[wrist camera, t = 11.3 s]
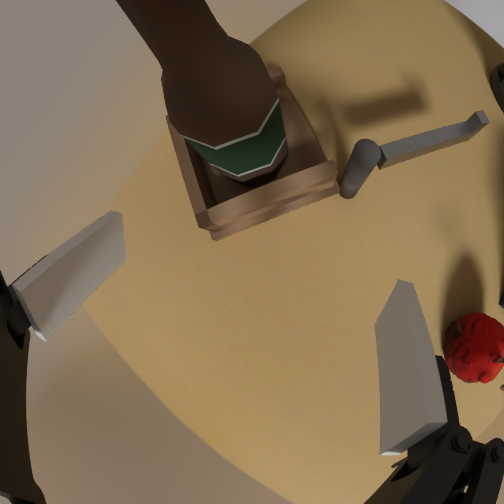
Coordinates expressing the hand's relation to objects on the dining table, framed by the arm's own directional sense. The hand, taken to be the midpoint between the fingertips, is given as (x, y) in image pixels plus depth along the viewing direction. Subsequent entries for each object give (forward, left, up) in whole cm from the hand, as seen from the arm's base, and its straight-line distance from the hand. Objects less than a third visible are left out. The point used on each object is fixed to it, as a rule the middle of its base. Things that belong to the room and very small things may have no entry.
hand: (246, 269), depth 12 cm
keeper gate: (-17, -5, -10) cm, 20 cm away
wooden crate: (-2, -11, -17) cm, 20 cm away
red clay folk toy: (-17, +16, -17) cm, 29 cm away
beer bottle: (-2, -12, -15) cm, 19 cm away
